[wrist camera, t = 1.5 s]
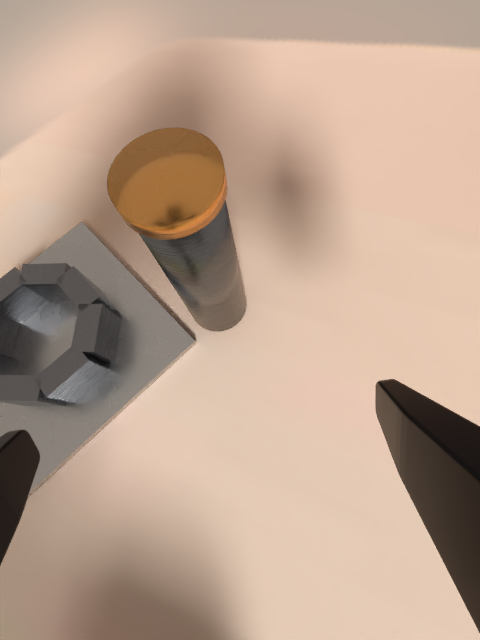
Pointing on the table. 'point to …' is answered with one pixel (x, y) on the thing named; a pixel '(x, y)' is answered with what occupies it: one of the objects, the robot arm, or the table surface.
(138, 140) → the copper capped metal cylinder
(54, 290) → the rosette collar
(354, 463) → the table surface
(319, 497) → the table surface
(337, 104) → the table surface
